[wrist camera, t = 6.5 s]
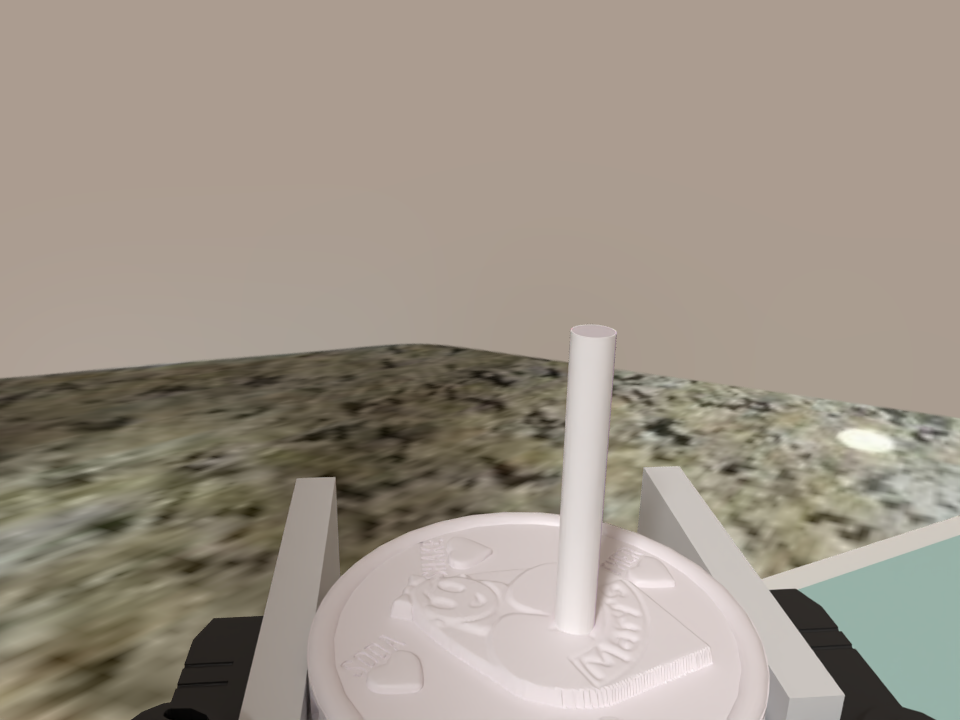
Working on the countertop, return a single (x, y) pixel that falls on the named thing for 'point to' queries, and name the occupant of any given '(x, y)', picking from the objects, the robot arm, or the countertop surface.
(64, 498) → the countertop surface
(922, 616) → the tray
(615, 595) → the smoothie
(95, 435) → the countertop surface
